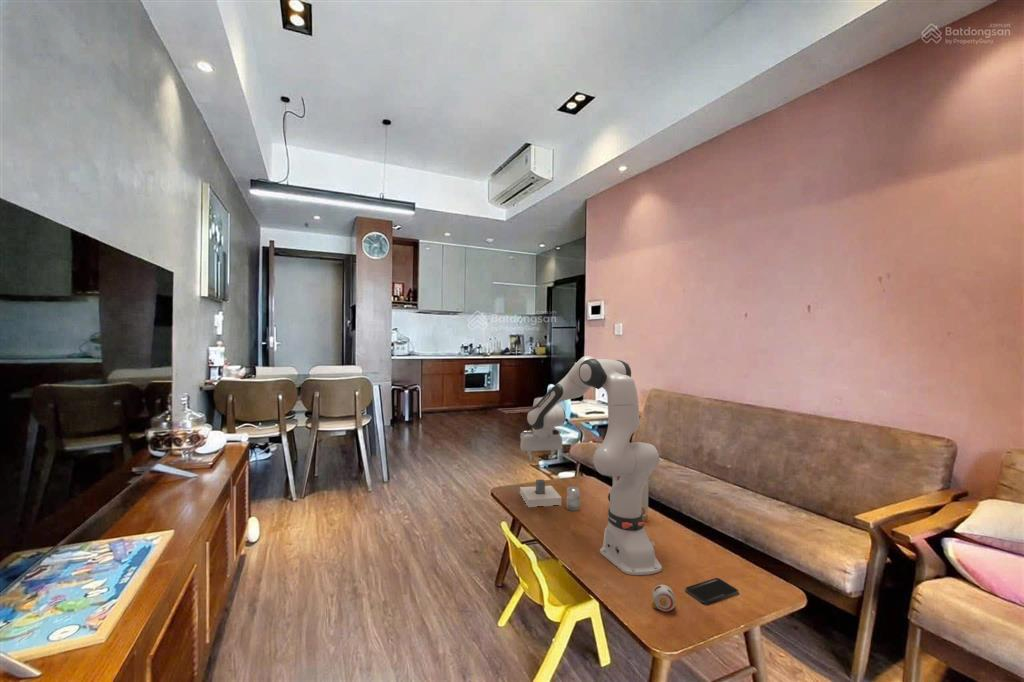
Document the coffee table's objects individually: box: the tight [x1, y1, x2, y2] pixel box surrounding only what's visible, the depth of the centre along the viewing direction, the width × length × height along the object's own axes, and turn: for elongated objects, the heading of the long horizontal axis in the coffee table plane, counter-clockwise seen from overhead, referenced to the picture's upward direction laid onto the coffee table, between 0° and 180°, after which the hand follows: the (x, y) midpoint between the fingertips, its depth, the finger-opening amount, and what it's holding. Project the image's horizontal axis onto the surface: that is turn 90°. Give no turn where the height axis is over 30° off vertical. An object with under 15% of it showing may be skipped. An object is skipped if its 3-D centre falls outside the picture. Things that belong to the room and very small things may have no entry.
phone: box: [684, 577, 739, 606], centre depth 124 cm, size 8×1×15 cm
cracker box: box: [612, 475, 649, 522], centre depth 174 cm, size 14×6×21 cm, turn 97°
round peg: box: [566, 485, 580, 512], centre depth 184 cm, size 6×6×9 cm
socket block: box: [519, 485, 563, 508], centre depth 194 cm, size 16×16×4 cm
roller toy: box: [651, 584, 676, 612], centre depth 116 cm, size 4×6×6 cm
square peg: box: [535, 479, 546, 494], centre depth 194 cm, size 4×4×9 cm
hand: (541, 459), depth 193 cm, fingers open, 8 cm apart
